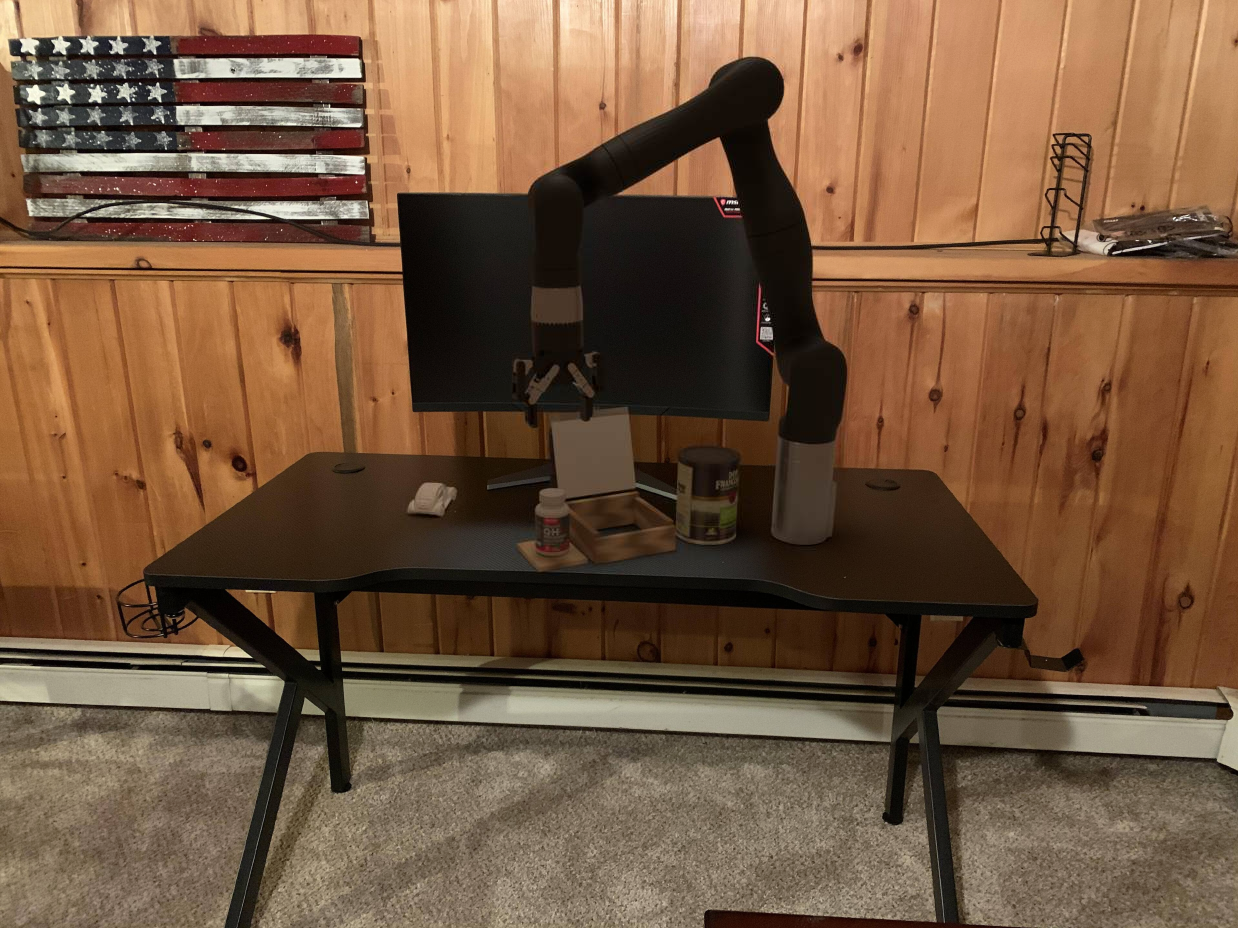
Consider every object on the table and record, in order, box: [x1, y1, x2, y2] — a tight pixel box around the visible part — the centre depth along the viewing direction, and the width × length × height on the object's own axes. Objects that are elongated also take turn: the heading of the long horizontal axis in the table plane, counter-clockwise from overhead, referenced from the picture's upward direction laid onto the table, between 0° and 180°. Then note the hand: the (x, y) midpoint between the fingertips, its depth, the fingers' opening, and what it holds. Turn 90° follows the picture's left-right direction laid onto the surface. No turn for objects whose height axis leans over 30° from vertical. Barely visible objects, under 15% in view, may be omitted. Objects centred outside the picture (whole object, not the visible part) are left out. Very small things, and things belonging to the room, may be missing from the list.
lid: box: [549, 406, 637, 499], centre depth 155 cm, size 14×14×1 cm
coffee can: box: [675, 444, 742, 546], centre depth 152 cm, size 10×10×14 cm
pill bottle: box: [534, 487, 571, 556], centre depth 143 cm, size 5×5×10 cm
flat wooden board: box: [515, 540, 589, 573], centre depth 145 cm, size 8×10×1 cm
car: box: [406, 482, 458, 517], centre depth 165 cm, size 12×6×5 cm, turn 172°
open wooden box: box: [564, 490, 677, 565], centre depth 150 cm, size 14×14×5 cm
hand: (559, 423), depth 140 cm, fingers open, 8 cm apart
